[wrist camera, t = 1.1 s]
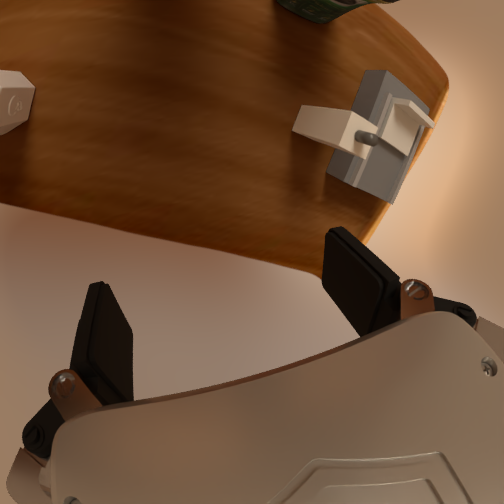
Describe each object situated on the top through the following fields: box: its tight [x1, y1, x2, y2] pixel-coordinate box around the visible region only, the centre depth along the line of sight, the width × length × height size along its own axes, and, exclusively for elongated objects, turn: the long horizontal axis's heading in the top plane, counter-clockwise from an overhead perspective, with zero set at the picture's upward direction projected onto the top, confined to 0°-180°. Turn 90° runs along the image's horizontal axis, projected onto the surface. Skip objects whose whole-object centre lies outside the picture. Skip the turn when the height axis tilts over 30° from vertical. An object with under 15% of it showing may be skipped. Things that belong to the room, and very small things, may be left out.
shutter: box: [378, 97, 435, 156], centre depth 32 cm, size 7×7×4 cm
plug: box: [292, 105, 378, 160], centre depth 30 cm, size 4×4×14 cm
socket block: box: [326, 70, 430, 204], centre depth 37 cm, size 19×12×6 cm, turn 160°
